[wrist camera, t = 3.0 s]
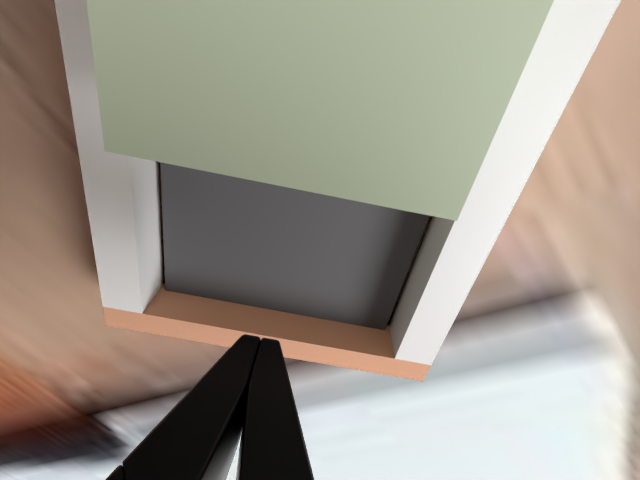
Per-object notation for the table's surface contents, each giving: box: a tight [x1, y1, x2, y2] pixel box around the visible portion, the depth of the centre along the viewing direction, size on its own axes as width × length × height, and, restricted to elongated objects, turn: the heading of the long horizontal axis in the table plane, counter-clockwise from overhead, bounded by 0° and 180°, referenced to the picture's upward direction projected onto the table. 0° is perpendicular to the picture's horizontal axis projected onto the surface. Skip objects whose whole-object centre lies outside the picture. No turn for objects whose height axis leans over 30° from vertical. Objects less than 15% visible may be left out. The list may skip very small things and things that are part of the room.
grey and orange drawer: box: [103, 162, 431, 381], centre depth 11 cm, size 10×6×2 cm, turn 79°
